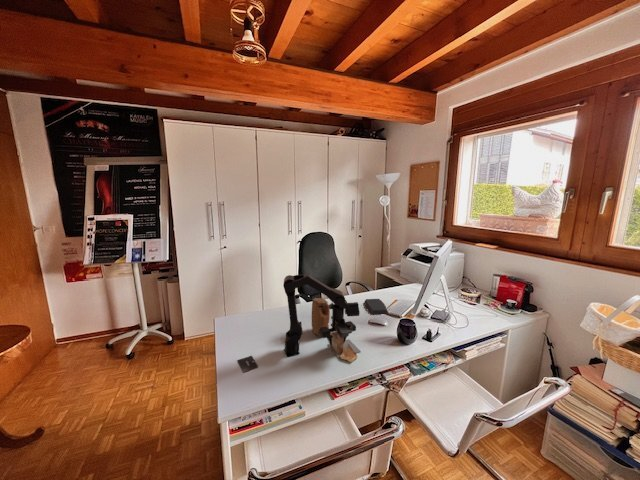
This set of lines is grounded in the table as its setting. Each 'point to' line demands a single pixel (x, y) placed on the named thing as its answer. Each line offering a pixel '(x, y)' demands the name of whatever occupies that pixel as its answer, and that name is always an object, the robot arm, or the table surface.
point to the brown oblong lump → (320, 314)
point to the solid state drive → (247, 364)
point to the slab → (337, 342)
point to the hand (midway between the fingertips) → (337, 344)
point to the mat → (345, 347)
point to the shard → (348, 354)
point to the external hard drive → (375, 306)
